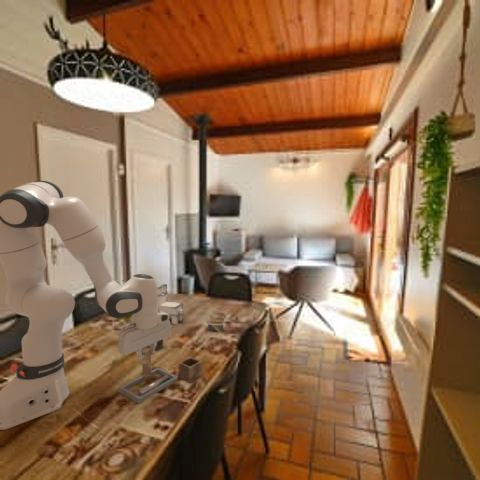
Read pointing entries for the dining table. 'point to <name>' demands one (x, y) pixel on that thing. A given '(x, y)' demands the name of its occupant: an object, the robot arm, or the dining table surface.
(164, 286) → the toy llama
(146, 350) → the dowel
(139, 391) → the metal rod
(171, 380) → the tray
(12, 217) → the robot arm
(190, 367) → the pen pot
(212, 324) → the platform
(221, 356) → the dining table surface
